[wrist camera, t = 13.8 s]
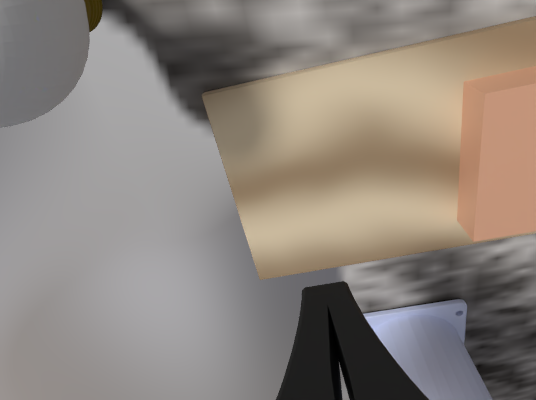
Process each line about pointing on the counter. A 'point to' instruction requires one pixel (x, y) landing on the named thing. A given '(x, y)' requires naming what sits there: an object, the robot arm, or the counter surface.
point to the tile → (498, 155)
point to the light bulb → (42, 53)
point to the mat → (357, 150)
